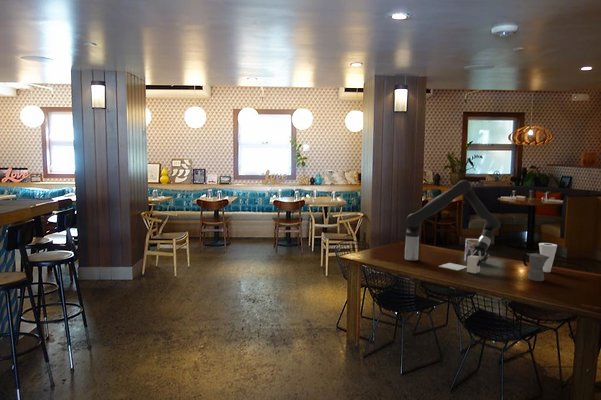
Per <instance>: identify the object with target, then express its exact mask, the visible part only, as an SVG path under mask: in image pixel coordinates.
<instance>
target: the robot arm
mask: <svg viewBox="0 0 601 400" xmlns="http://www.w3.org/2000/svg"><path fill="white" fill-rule="evenodd" d="M460 196H463V197H464V198H466V200H467V201H468V202H469V204H470V205H471V207H472V209H473V210H474V211H475V213H476V215H477V216H478V217H479V219H481V220H485V221H486V223H484V225H483V229H482V231H481V234H480V236H479V238H477V239H478V241H477V243H476V245H475V248H474V250H470V249H469V250H468V253H467V258H468V256H470V255H474V256H479V257H480V260H479V261H478V263H477V266H478V267H479V266H480V267H481V265H482V263H486V262H487V260H488V259H489V257H490V254H489V252H487V251H488V249H489V247H490V245H491V241H492V239H493V237H494V231H495V230H497V229H498V228H499V227H500V226H501V225H500V224H501V223H500V221H499V220H498V218H497V217H496V216H495V215H493V214H492V213H491V212H490V211H489V210H488V209H487V207H486V206H485V205H484V203H483V202H482V201H481V199H480V198H479V197H478V196H477V195H476V193H475V191H474V189H473V187H472V184H471V183H470V181H468V180H467V179H463V180H459V181H458V182H457V183H456V184H455V185H453V186H452V187H451V188H450V189H448V190H447V191H445V192H443V193H441V194H439V195H437V196H435V198H433V199H431V200H430V201H429V202H427V203H426V204H425V205H424V206H423V207H422V208H421V209H419V210H418V211H416V212H414V213H409V214H408V215H407V216H406V219H405V223H406V229H405V245H404V246H405V247H404V259H405V261H418V260H419V242H420V241H419V240H420V227H421V226H420V225H421V223H422V222H423V221H425V220H426V219H427V218H429V217H431V216H433V215H435V214H437V213H439V212H441V210H443V209H445V208H446V207H447V206H448V205H449V206H450V204H451V203H452V202H453V201H454V200H455V199H457V198H458V197H460ZM472 252H473V253H472Z"/></svg>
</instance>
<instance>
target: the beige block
mask: <svg viewBox="0 0 601 400" xmlns="http://www.w3.org/2000/svg"><path fill="white" fill-rule="evenodd" d="M479 260H480V257H479V256H474V255H471V256H468V260H467V262H466V266H467V268H466V272H467V273H469V272H471V273H470V274H472V273H477V274H479V273H480V272H481V265H480V266H479V267H478V266H477V263H478V261H479Z"/></svg>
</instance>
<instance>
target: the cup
mask: <svg viewBox="0 0 601 400" xmlns="http://www.w3.org/2000/svg"><path fill="white" fill-rule="evenodd" d="M538 246H539V247H538V248H539V254H542V255H545V256H548V257H549V258H548V259H547V261H546V262H545V263H544V267H543V272H544V273H551V271H552V266H553V263H554V260H555V255H556V252H557V248H558V244H555V243H551V242H550V243H549V242H539V243H538Z"/></svg>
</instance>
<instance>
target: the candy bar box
mask: <svg viewBox="0 0 601 400" xmlns="http://www.w3.org/2000/svg"><path fill="white" fill-rule="evenodd" d="M478 239H479V238H465V245H464V262H465V263H467V260H468V258H467V253H468V250H469V249H470V250H474V248H475V245H476V243H477V241H478ZM472 253H473V252H472ZM470 256H471V255H470Z"/></svg>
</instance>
